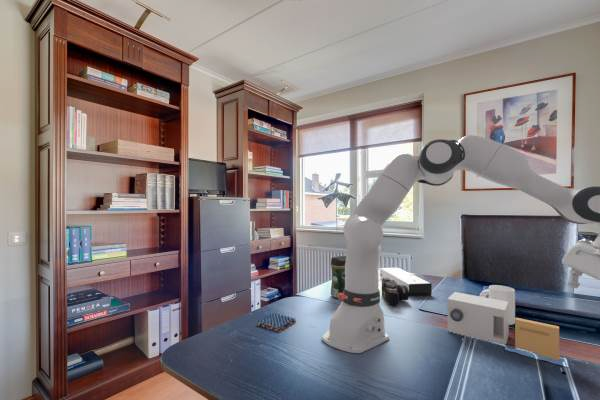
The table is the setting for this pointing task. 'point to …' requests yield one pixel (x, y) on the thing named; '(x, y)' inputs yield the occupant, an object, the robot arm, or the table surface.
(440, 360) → the table surface
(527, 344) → the side door
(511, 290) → the mug
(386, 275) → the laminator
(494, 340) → the housing
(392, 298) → the camera
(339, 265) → the coffee jar
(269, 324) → the woven mat
